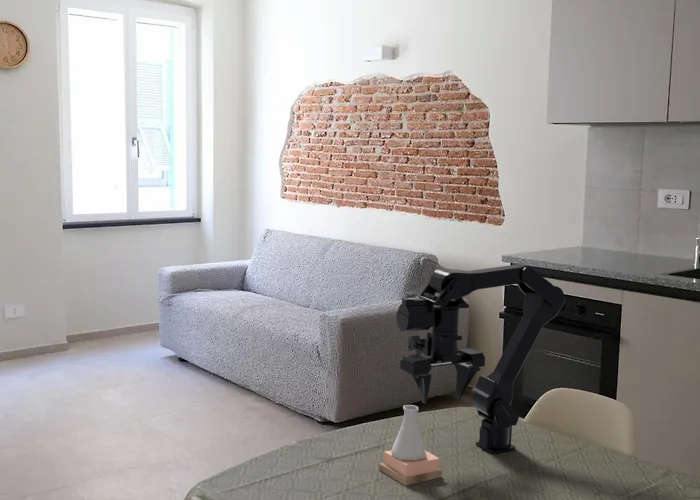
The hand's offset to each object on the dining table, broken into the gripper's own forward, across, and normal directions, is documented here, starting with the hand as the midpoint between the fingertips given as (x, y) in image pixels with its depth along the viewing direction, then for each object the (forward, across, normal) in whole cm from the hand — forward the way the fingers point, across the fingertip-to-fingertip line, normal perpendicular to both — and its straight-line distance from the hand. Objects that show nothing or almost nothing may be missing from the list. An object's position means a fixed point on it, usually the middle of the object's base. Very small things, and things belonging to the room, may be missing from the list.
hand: (441, 400), depth 173 cm
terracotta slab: (+11, +11, +6) cm, 17 cm away
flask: (+8, +12, +6) cm, 16 cm away
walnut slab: (+13, +12, +6) cm, 19 cm away
